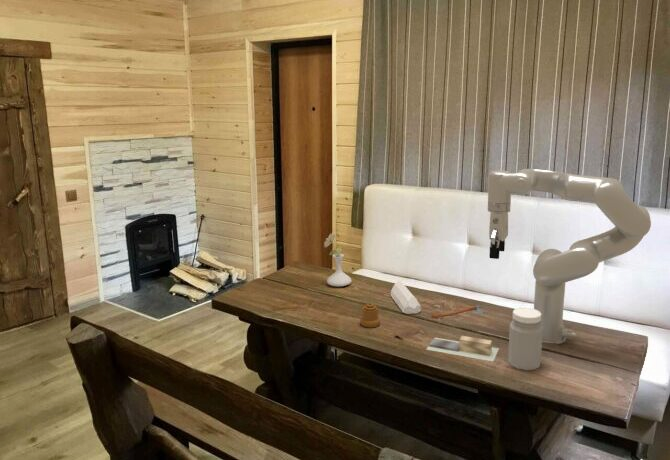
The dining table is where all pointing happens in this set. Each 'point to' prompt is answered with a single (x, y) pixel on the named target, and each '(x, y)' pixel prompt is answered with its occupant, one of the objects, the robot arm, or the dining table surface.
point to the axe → (477, 311)
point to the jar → (525, 339)
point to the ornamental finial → (370, 316)
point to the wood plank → (408, 332)
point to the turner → (465, 345)
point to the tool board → (466, 354)
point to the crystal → (405, 299)
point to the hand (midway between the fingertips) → (497, 254)
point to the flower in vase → (337, 266)
